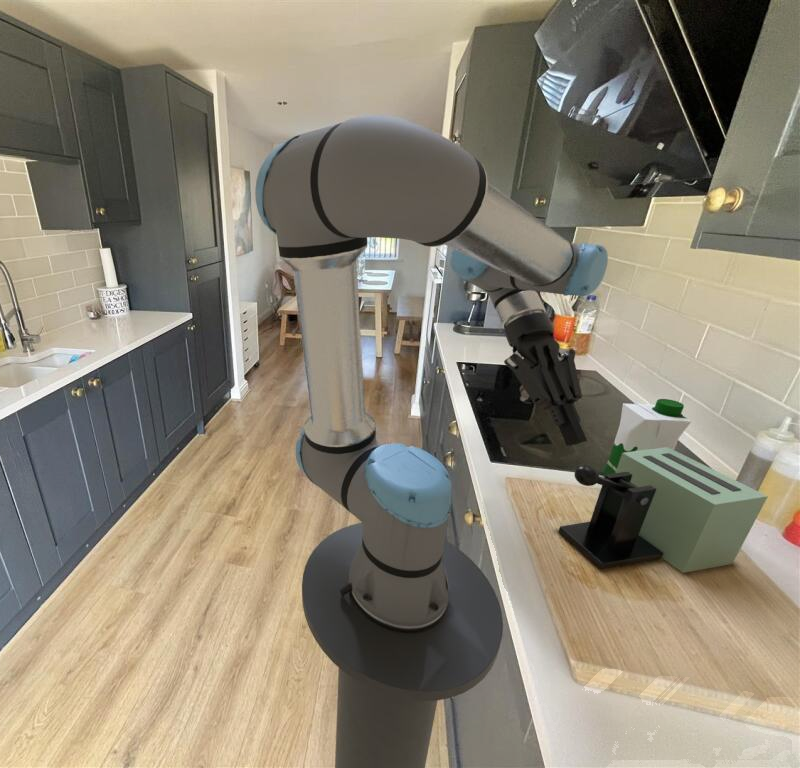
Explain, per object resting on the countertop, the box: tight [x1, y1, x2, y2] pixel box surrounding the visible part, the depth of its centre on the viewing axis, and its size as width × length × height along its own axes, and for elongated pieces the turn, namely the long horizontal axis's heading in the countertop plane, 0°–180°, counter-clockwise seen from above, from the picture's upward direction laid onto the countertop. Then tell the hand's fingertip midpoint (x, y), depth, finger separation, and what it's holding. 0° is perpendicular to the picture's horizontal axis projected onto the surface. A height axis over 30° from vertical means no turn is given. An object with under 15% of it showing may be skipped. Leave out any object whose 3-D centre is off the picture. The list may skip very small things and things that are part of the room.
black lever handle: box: [574, 465, 637, 498], centre depth 65 cm, size 13×3×3 cm, turn 100°
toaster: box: [616, 447, 769, 574], centre depth 70 cm, size 10×15×14 cm, turn 10°
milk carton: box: [602, 398, 692, 478], centre depth 83 cm, size 9×9×20 cm
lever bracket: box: [558, 472, 664, 571], centre depth 69 cm, size 12×9×14 cm
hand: (576, 443), depth 65 cm, fingers closed
